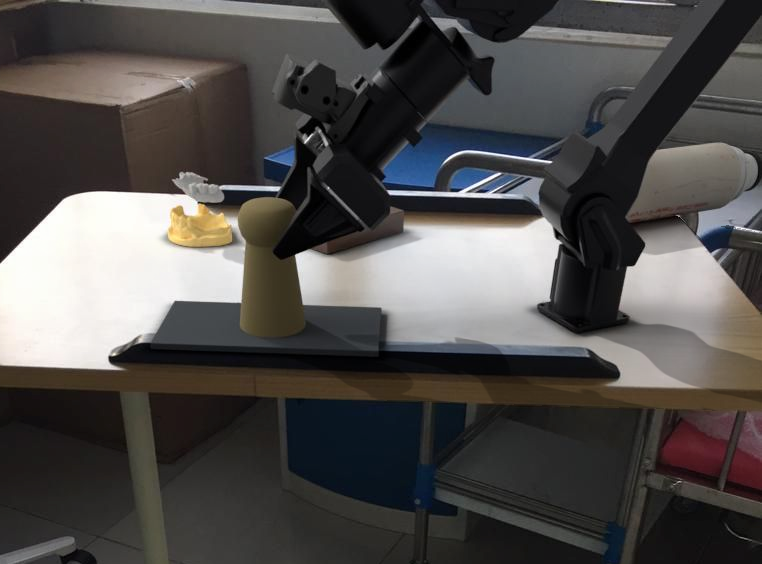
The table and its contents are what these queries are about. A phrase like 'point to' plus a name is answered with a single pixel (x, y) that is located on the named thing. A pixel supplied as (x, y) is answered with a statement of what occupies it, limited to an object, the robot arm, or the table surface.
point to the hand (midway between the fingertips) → (272, 238)
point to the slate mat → (223, 333)
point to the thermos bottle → (694, 180)
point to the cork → (268, 272)
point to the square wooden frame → (367, 233)
